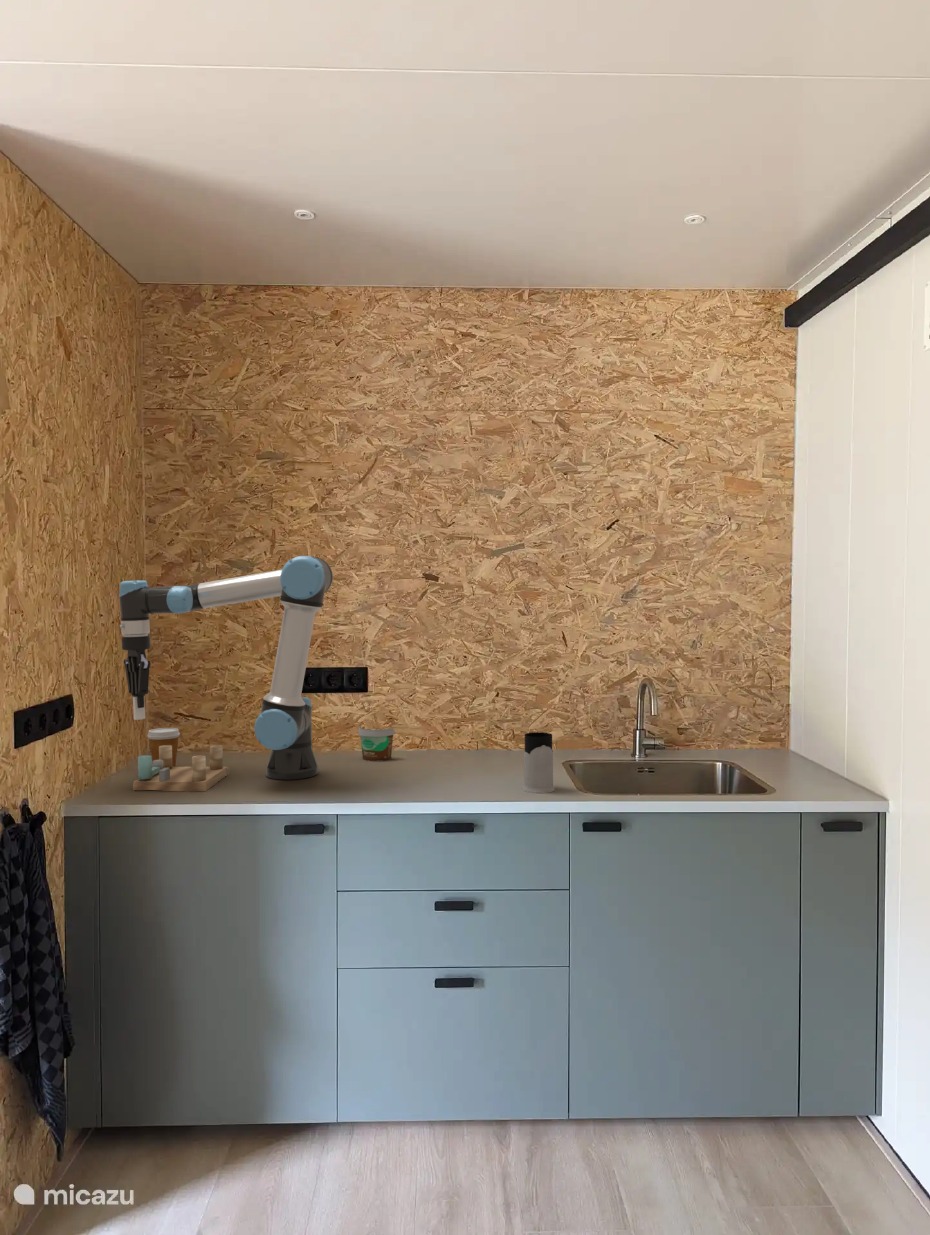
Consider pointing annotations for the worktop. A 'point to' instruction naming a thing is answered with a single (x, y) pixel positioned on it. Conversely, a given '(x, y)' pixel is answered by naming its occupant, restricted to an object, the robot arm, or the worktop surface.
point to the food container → (376, 743)
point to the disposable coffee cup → (163, 741)
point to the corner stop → (164, 774)
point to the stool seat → (187, 772)
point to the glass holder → (538, 763)
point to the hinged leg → (148, 767)
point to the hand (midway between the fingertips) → (139, 719)
